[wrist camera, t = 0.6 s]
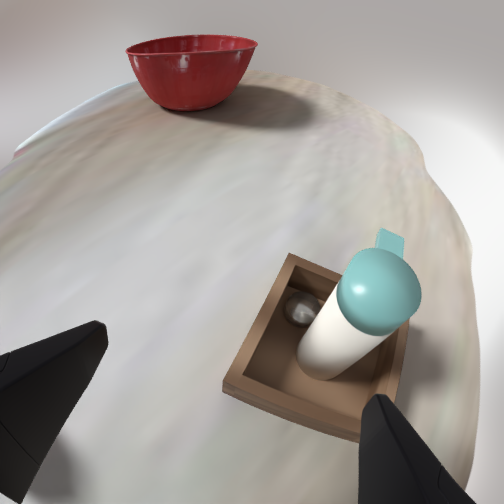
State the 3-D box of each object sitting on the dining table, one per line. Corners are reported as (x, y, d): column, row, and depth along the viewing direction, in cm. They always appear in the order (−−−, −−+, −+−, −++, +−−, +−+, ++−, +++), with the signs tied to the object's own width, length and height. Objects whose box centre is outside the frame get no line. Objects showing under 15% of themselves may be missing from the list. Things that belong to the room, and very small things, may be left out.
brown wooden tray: (358, 443, 19) (383, 439, 16) (222, 391, 22) (222, 380, 18) (389, 325, 27) (411, 305, 24) (279, 279, 30) (288, 252, 26)
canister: (337, 387, 22) (418, 332, 12) (287, 368, 23) (339, 299, 13) (356, 325, 26) (422, 246, 16) (312, 307, 27) (361, 218, 17)
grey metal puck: (319, 326, 25) (323, 320, 25) (286, 328, 25) (289, 323, 24) (312, 296, 27) (316, 290, 27) (281, 298, 27) (283, 292, 26)
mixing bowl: (120, 133, 47) (112, 59, 35) (138, 89, 64) (136, 39, 52) (263, 123, 53) (273, 52, 41) (238, 83, 70) (243, 34, 58)
